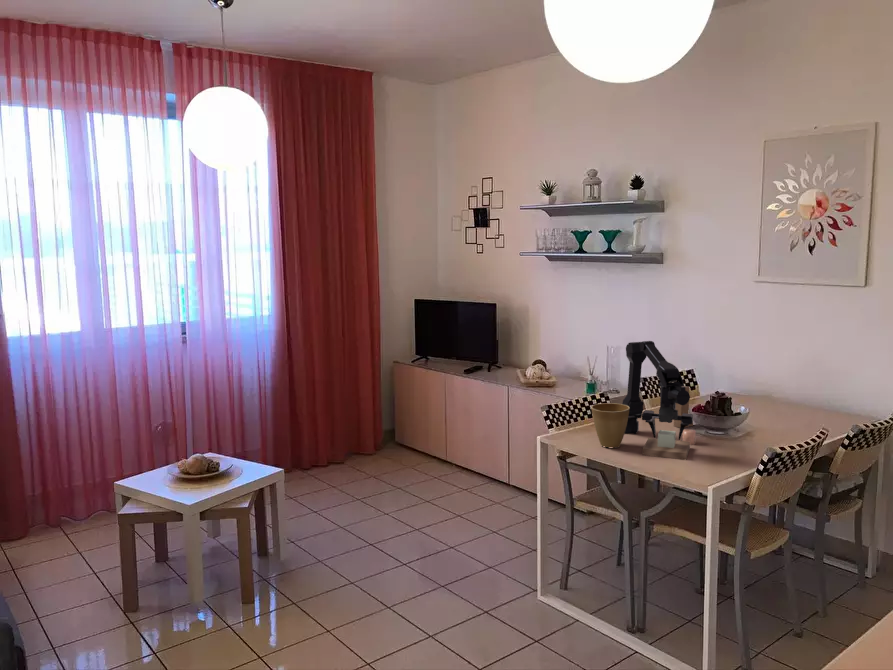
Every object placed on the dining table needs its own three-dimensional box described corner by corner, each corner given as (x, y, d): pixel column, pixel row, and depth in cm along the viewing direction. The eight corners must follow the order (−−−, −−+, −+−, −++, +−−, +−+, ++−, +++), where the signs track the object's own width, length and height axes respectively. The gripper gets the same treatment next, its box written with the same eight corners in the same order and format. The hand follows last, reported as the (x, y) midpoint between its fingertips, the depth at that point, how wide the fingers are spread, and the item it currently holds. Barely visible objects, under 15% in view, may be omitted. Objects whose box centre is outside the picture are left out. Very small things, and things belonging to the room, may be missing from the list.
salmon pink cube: (681, 444, 293) (682, 432, 292) (683, 440, 297) (683, 428, 297) (694, 445, 291) (695, 433, 290) (695, 441, 295) (696, 429, 294)
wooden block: (687, 423, 323) (689, 383, 321) (695, 425, 319) (697, 385, 317) (673, 426, 319) (674, 386, 316) (681, 428, 315) (682, 388, 313)
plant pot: (624, 440, 299) (625, 402, 297) (632, 451, 284) (633, 411, 282) (588, 440, 299) (588, 402, 297) (594, 451, 285) (594, 411, 282)
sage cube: (657, 446, 281) (657, 434, 281) (659, 442, 287) (659, 430, 286) (673, 448, 279) (674, 435, 278) (675, 443, 284) (675, 431, 284)
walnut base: (642, 455, 279) (642, 448, 279) (648, 443, 294) (648, 437, 293) (686, 459, 273) (686, 453, 272) (689, 447, 287) (690, 441, 287)
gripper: (640, 402, 276) (639, 441, 279) (691, 406, 269) (690, 446, 271) (644, 395, 287) (643, 434, 289) (694, 399, 279) (692, 438, 281)
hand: (666, 438), depth 282 cm, fingers open, 9 cm apart
